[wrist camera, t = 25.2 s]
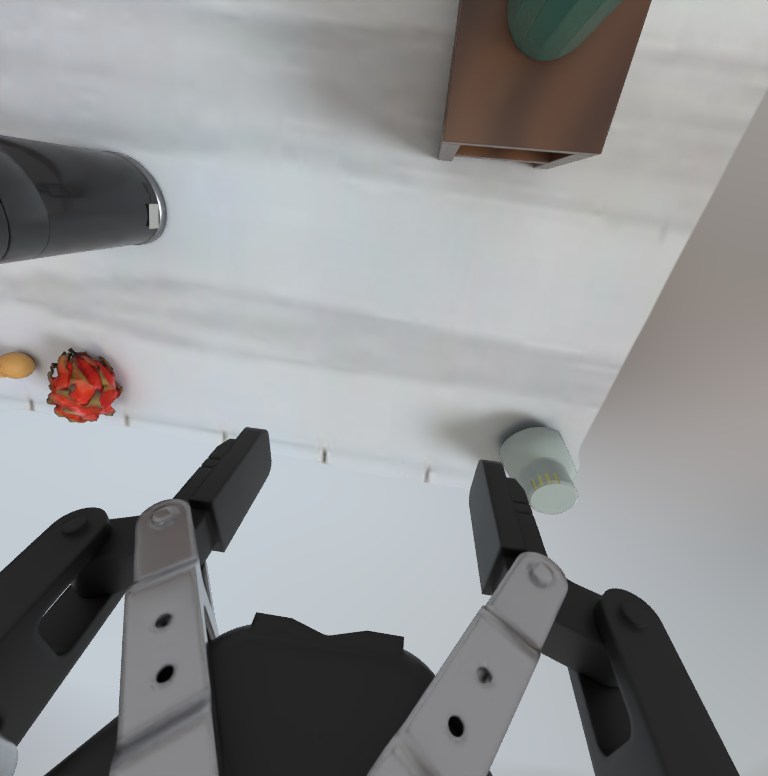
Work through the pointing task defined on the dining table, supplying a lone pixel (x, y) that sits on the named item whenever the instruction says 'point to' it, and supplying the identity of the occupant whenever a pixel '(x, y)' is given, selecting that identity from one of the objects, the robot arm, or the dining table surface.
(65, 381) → the dragon fruit
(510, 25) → the tumbler
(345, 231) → the dining table surface
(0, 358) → the figurine
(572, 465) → the air freshener
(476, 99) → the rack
